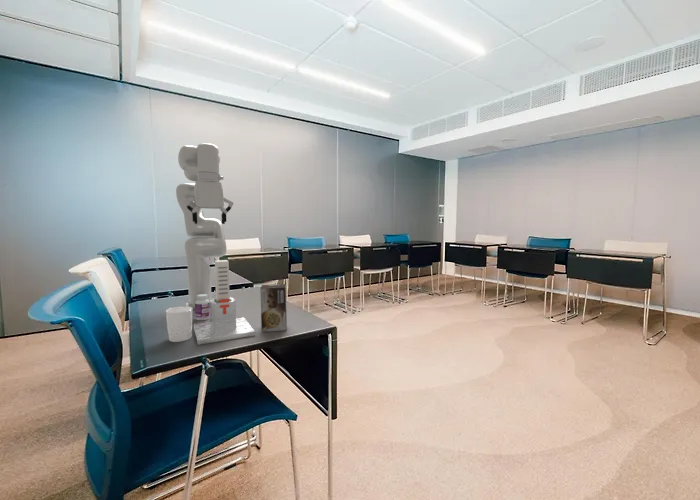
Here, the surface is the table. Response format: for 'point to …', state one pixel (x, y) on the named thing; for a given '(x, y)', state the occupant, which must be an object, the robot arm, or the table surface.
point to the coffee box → (273, 307)
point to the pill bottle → (202, 307)
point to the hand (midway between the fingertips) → (209, 223)
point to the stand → (222, 323)
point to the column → (222, 279)
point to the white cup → (179, 323)
